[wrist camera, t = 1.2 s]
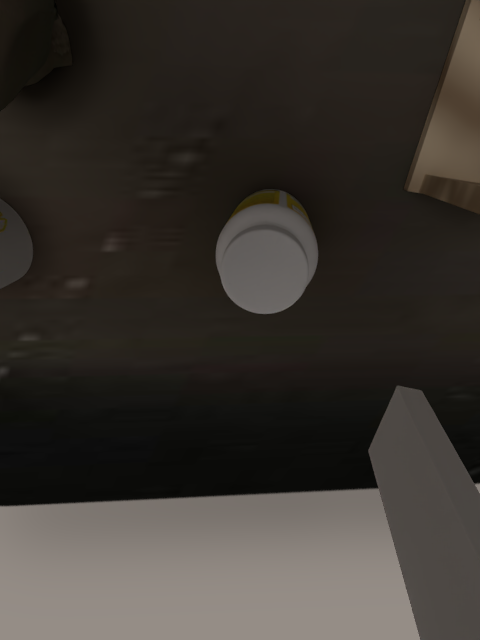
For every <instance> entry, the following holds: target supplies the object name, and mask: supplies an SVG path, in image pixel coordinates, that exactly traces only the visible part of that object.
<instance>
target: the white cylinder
mask: <svg viewBox="0 0 480 640" xmlns="http://www.w3.org/2000/svg"><path fill="white" fill-rule="evenodd" d="M32 259H33V245H32V240H31V237H30V234H29V231H28V229H27V227H26V225H25V223H24V222H23V220H22V219H21V217H20V216H19V215H18V214H17V212H16V211H15V210H14V209H13V208H12V207H11V206H9V205H8V204H7V203H6V202H4V201H3V200H2V199H0V289H1V288H3V287H5V286H7V285H9V284H11V283H12V282H14V281H16V280H18V279H20V278H21V277H23V276H24V275H25V274H26V273H27V271H28V270H29V268H30V266H31V263H32Z"/></svg>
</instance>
